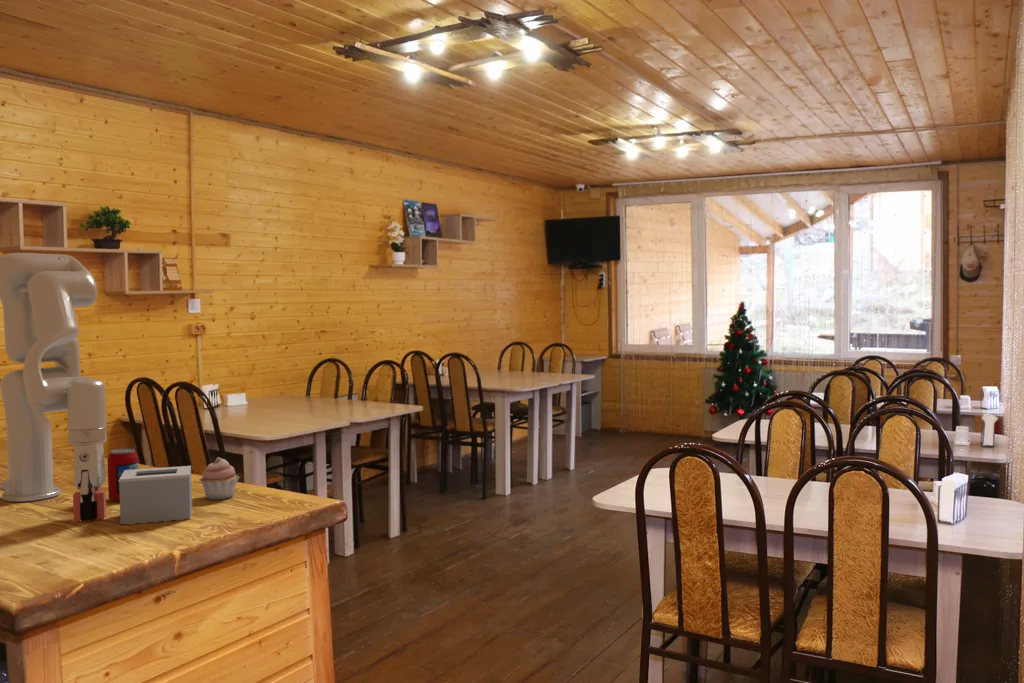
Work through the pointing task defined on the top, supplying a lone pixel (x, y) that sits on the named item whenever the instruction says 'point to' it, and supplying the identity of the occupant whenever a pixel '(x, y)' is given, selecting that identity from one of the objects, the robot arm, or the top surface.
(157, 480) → the grey box
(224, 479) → the cupcake
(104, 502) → the block
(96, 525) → the top surface
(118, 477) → the beverage can
